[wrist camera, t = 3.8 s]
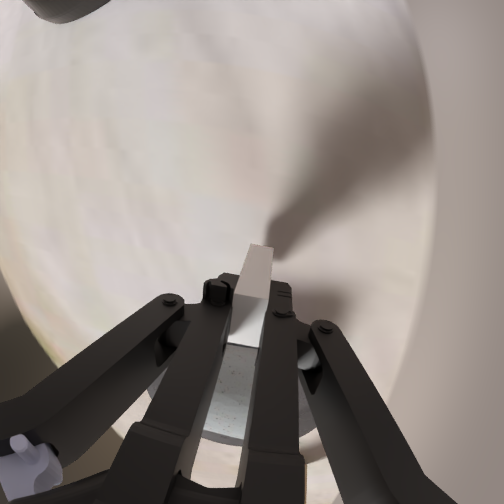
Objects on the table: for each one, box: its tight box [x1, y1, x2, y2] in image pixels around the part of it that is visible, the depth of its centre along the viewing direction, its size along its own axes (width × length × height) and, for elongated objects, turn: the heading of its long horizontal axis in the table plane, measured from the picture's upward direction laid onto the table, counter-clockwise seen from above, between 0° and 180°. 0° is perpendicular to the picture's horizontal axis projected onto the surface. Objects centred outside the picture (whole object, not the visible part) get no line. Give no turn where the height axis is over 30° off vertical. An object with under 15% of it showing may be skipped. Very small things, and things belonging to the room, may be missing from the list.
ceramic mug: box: [203, 345, 258, 439], centre depth 19 cm, size 11×8×8 cm
